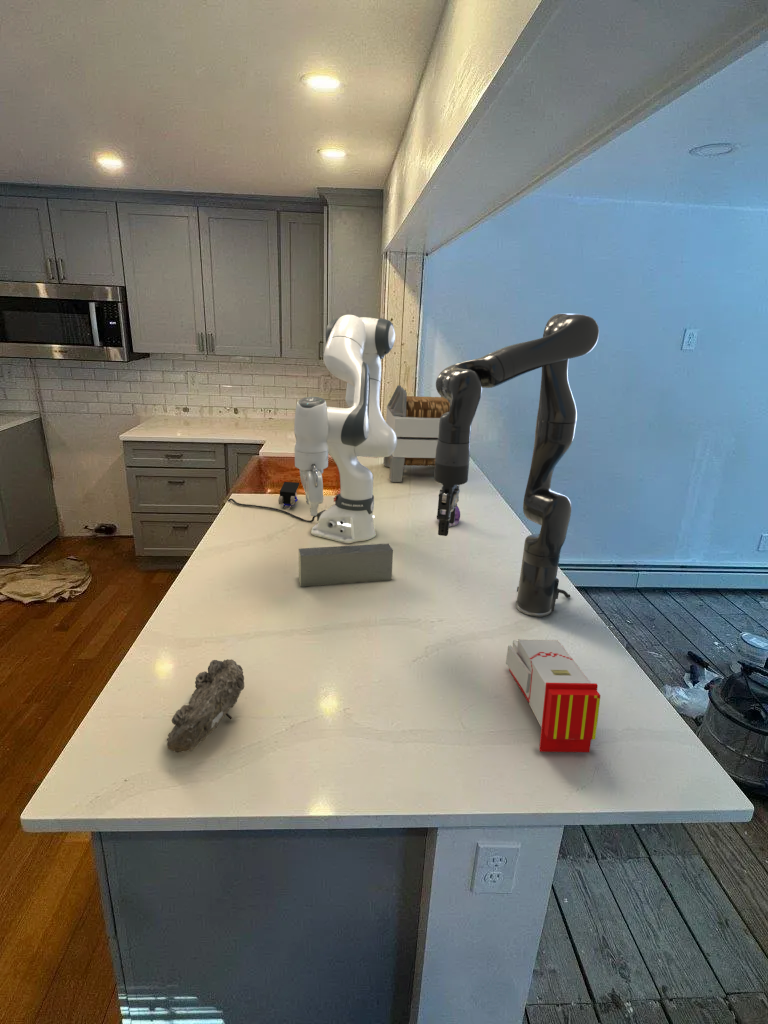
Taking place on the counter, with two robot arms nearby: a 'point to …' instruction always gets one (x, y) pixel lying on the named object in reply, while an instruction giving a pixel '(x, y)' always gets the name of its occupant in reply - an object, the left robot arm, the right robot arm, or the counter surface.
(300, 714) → the counter surface
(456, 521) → the figurine
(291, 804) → the counter surface
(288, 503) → the figurine character
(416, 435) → the transformer
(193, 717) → the fossil
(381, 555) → the bar
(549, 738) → the toy
